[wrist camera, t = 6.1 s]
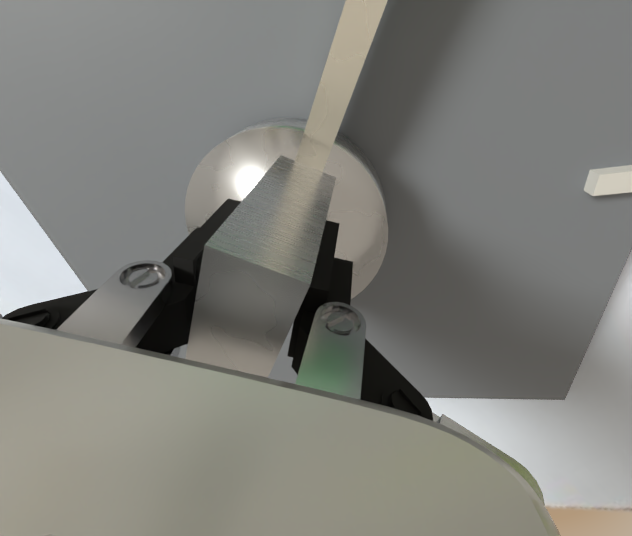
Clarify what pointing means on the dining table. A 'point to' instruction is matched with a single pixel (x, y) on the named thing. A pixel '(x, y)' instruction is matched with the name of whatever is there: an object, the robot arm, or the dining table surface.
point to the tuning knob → (285, 213)
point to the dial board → (372, 139)
